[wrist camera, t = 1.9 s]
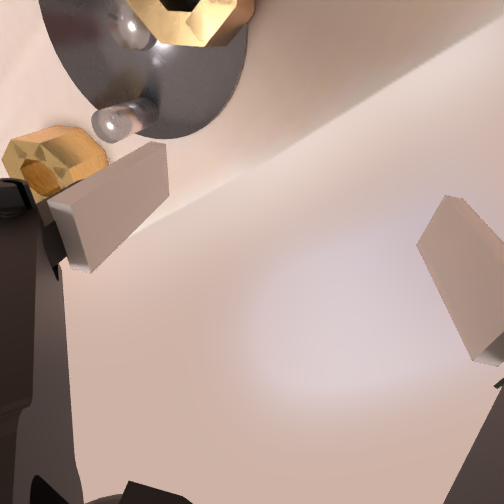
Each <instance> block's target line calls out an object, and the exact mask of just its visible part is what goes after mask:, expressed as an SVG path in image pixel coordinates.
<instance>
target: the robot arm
mask: <svg viewBox="0 0 504 504" xmlns="http://www.w3.org/2000/svg"><path fill="white" fill-rule="evenodd" d="M168 197H169V184H168V169H167V154H166V144H162V143H157V142H149V143H147V144H145V145H144V146H142V147H140V148H138V149H137V150H135V151H133V152H131V153H130V154H128V155H126V156H124V157H123V158H121V159H119V160H117V161H115V162H114V163H112V164H110V165H108V166H107V167H105V168H103V169H101V170H100V171H98V172H96V173H94V174H93V175H91V176H89V177H87V178H85V179H82V180H78V181H76V182H74V183H72V184H70V185H69V186H67V188H66V187H65V188H63V189H61V190H60V191H59V192H56V193H54V194H52V195H51V196H49V197H47V198H45V199H43V200H42V201H40V202H38V203H35V200H34V197H33V195H32V192H31V190H30V187H29V185H28V183H27V181H25V180H22V179H17V178H1V179H0V504H84V501H83V492H82V486H81V482H80V477H79V474H78V471H77V467H76V462H75V455H74V442H73V428H72V413H71V398H70V384H69V369H68V355H67V341H66V325H65V312H64V296H63V282H62V270H61V267H60V265H59V262H60V261H62V260H63V259H64V258H65V257H66V256H67V258H68V261H69V264H70V266H71V269H72V270H77V271H81V272H86V273H92V272H93V271H94V270H95V269H96V268H97V267H98V266H99V265H100V264H101V263H102V262H103V261H104V260H105V259H106V258H107V257H108V256H109V255H110V254H111V253H112V252H113V251H114V250H115V249H116V248H117V247H118V246H119V245H120V244H121V243H122V242H123V241H124V240H125V239H126V238H127V237H128V236H129V235H130V234H131V233H132V232H133V231H135V230H136V229H137V228H138V227H139V226H140V225H141V224H142V223H143V222H144V221H145V220H146V219H147V218H148V217H149V216H150V215H151V214H152V213H153V212H154V211H155V210H156V209H157V208H158V207H159V206H160V205H161V204H162V203H163V202H164V201H165V200H166V199H167V198H168ZM417 247H418V249H419V252H420V254H421V256H422V258H423V260H424V262H425V264H426V266H427V268H428V270H429V272H430V274H431V276H432V278H433V280H434V283H435V285H436V287H437V289H438V291H439V293H440V295H441V297H442V299H443V301H444V303H445V305H446V307H447V309H448V311H449V314H450V316H451V318H452V320H453V322H454V324H455V326H456V328H457V330H458V332H459V334H460V336H461V338H462V340H463V343H464V345H465V347H466V349H467V351H468V353H469V355H470V357H471V359H472V361H474V362H479V363H483V364H488V365H492V366H496V367H498V366H499V365H500V364H501V363H503V362H504V242H503V241H502V240H501V239H500V238H499V237H498V236H497V235H496V234H495V233H494V232H493V230H492V229H491V228H490V227H489V226H488V225H487V224H486V223H485V222H484V221H483V220H482V219H481V218H480V216H479V215H478V214H477V213H476V212H475V211H474V210H473V209H472V208H471V207H470V206H469V205H468V204H467V203H466V201H464V199H462V198H457V197H451V196H446V195H445V196H444V198H443V200H442V202H441V203H440V205H439V207H438V208H437V210H436V212H435V214H434V215H433V217H432V219H431V220H430V222H429V224H428V226H427V228H426V229H425V231H424V233H423V234H422V236H421V238H420V240H419V241H418V243H417ZM501 386H502V388H501V391H500V392H499V394H498V396H497V398H496V400H495V402H494V405H493V406H492V409H491V410H490V412H489V414H488V416H487V418H486V420H485V422H484V424H483V426H482V428H481V430H480V432H479V434H478V436H477V438H476V440H475V442H474V444H473V446H472V448H471V450H470V452H469V454H468V456H467V458H466V460H465V462H464V464H463V465H462V468H461V470H460V471H459V473H458V475H457V477H456V480H455V481H454V483H453V486H452V487H451V489H450V491H449V493H448V495H447V497H446V499H445V501H444V503H443V504H504V378H503V379H502V380H500V381H499V382H498V383H497V384H495V385H494V387H495V388H497V389H498V388H499V387H501ZM86 504H192V503H191V502H190V501H189V500H187V499H186V498H184V497H183V496H180V495H176V494H173V493H170V492H166V491H162V490H159V489H156V488H152V487H149V486H146V485H142V484H139V483H135V482H132V481H128V484H127V486H126V488H125V490H124V493H123V494H117V495H112V496H107V497H103V498H99V499H97V500H94V501H91V502H88V503H86Z"/></svg>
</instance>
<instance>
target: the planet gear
mask: <svg viewBox="0 0 504 504" xmlns="http://www.w3.org/2000/svg"><path fill="white" fill-rule="evenodd" d="M2 162H3V164H4V166H5V168H6V170H7V172H8V174H9V177H10V178H17V179H22V180H25V181H27V183H28V185H29V187H30V190H31V192H32V195H33V197H34V200H35V203H38V202H40V201H42V200H43V199H45V198H47V197H49V196H51V195H52V194H54V193H56V192H59V191H60V190H61V189H63V188H65V187H66V188H67V186H69V185H70V184H72V183H74V182H76V181H78V180H82V179H85V178H87V177H89V176H91V175H93V174H94V173H96V172H98V171H100V170H101V169H103V168H105V167H107V166H108V162H107V158H106V154H105V151H104V150H103V149H102V148H101V147H100V146H99V145H98V144H97V143H96V142H95V141H94V140H93V139H92V138H91V137H90V136H89V135H88V134H87V133H86V132H84V131H83V130H82V129H81V128H73V127H64V126H53V127H50V128H47V129H43V130H40V131H37V132H34V133H30V134H27V135H24V136H21V137H17V138H14V139H11V140H10V142H9V144H8V147H7V149H6V151H5V153H4V155H3V158H2Z"/></svg>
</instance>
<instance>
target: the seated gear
mask: <svg viewBox="0 0 504 504" xmlns="http://www.w3.org/2000/svg"><path fill="white" fill-rule="evenodd" d="M125 1H126V2H127V4H128V5H129V6H130V7H131V8H132V10H133V11H134V12H135V13H136V15H137V16H138V17H139V18H140V19H141V21H142V22H143V23H144V24H145V25H146V27H147V28H148V29H149V30H150V32H151V33H152V34H153V35H154V36H155V38H156V39H157V40H158V41H159V42H160V44H172V45H185V46H199V47H220V46H227V45H228V44H229V43H230V42H231V41H232V39H233V38H234V37H235V36H236V35H237V33H238V32H239V31H240V30H241V29H242V27H243V26H244V25H245V24H246V23H247V21H248V20H249V19H250V18H251V17H252V15H253V14H254V4H255V0H200V1H199V3H198V4H197V6H196V7H195V9H194V10H192V9H191V7H190V6H189V5H188V3H187V2H186V1H185V0H125Z"/></svg>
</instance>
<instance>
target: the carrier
mask: <svg viewBox="0 0 504 504" xmlns="http://www.w3.org/2000/svg"><path fill="white" fill-rule="evenodd" d="M185 1H186V2H187V3H188V5H189V6H190V7H191V9H192V10H194V9H195V7H196V6H197V4H198V3H199V1H200V0H185ZM39 4H40V8H41V12H42V16H43V20H44V23H45V26H46V29H47V32H48V35H49V38H50V40H51V42H52V44H53V47H54V49H55V51H56V53H57V55H58V57H59V59H60V61H61V63H62V65H63V67H64V68H65V70H66V71H67V73H68V75H69V76H70V78H71V79H72V81H73V82H74V84H75V85H76V86H77V87H78V89H79V90H80V91H81V93H82V94H83V95H84V96H85V97H86V98H87V99H88V101H89V102H90V103H91V104H92V105H93V106H94V107H95V108H96V109H98V111H96V112H95V113H94V114H93V116H92V127H93V129H94V131H95V133H96V134H97V136H98V137H99V138H100V139H102V140H103V141H105V142H107V143H115V142H118V141H120V140H122V139H124V138H126V137H128V136H130V135H132V134H134V133H135V134H138V135H141V136H144V137H149V138H155V139H173V138H179V137H183V136H187V135H189V134H192V133H194V132H196V131H198V130H199V129H201V128H203V127H204V126H206V125H207V124H209V123H210V122H211V121H212V120H213V119H214V118H215V117H216V116H217V115H218V114H219V113H220V112H221V111H222V109H223V108H224V107H225V106H226V104H227V102H228V101H229V99H230V98H231V96H232V94H233V92H234V90H235V87H236V85H237V83H238V80H239V77H240V74H241V71H242V68H243V62H244V57H245V52H246V42H247V23H246V24H245V25H244V26H243V27H242V29H241V30H240V31H239V32H238V33H237V35H236V36H235V37H234V38H233V39H232V41H231V42H230V43H229V44H228V45H227V46H220V47H199V46H185V45H172V44H160V42H159V41H158V40H157V39H156V38H155V36H154V35H153V34H152V33H151V32H150V30H149V29H148V28H147V27H146V25H145V24H144V23H143V22H142V21H141V19H140V18H139V17H138V16H137V15H136V13H135V12H134V11H133V10H132V8H131V7H130V6H129V5H128V4H127V2H126V1H125V0H39Z"/></svg>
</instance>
